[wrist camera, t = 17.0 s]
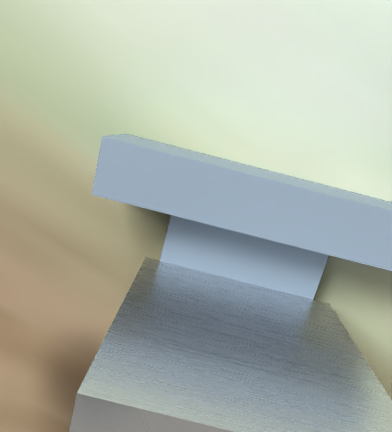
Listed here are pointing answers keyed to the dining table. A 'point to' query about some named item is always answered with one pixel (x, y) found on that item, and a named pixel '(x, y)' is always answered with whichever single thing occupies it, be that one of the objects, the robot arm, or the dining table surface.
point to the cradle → (244, 215)
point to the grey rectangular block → (226, 362)
